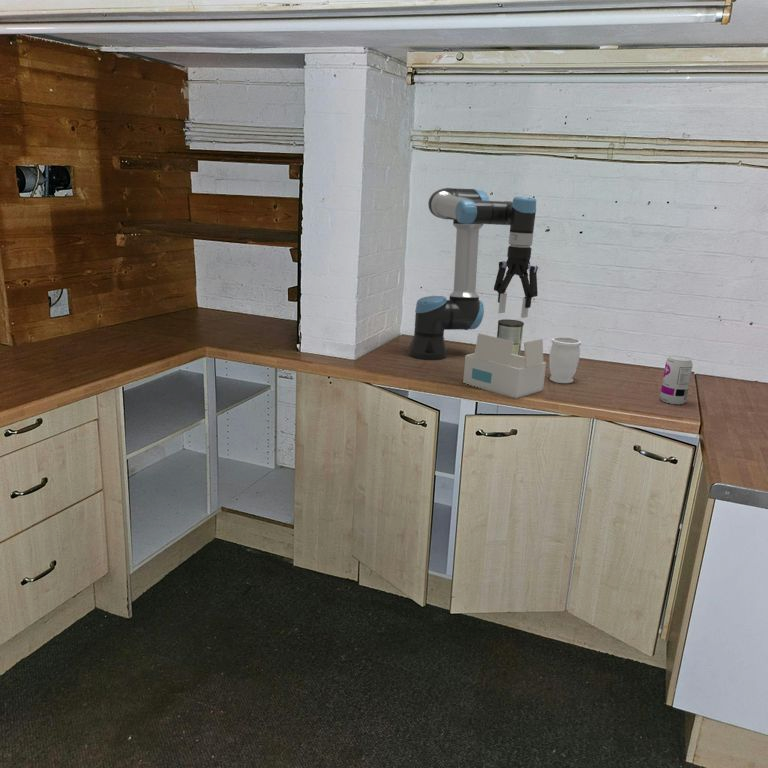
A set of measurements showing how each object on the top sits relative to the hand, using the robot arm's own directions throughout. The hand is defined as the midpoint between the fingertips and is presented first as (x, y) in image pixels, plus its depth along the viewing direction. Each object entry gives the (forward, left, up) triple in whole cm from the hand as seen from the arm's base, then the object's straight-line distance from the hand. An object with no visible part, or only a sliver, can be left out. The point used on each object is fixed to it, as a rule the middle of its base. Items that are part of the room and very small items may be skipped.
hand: (512, 314), depth 232 cm
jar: (+7, +25, -26) cm, 36 cm away
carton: (-1, 0, -25) cm, 25 cm away
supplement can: (+44, +34, -26) cm, 61 cm away
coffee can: (-27, +40, -26) cm, 55 cm away
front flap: (-1, -7, -11) cm, 13 cm away
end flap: (+9, 0, -11) cm, 14 cm away
